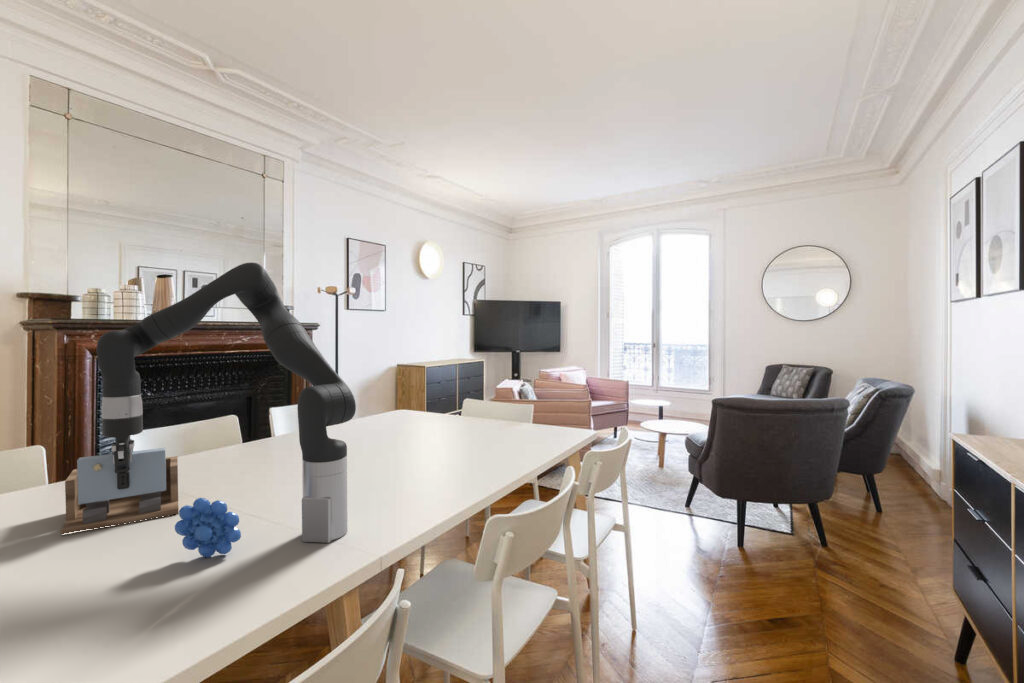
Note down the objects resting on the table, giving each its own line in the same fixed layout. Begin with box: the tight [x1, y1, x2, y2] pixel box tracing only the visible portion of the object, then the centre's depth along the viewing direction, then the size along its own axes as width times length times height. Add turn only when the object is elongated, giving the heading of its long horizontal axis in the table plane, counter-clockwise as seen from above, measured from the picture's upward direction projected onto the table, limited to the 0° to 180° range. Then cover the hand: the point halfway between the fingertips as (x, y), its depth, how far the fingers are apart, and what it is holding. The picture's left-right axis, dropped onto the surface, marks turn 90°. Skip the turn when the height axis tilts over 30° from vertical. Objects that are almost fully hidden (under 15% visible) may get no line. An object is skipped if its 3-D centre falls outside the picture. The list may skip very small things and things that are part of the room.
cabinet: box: [60, 456, 179, 535], centre depth 116 cm, size 17×21×10 cm
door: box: [76, 447, 167, 505], centre depth 112 cm, size 4×16×10 cm, turn 125°
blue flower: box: [174, 497, 242, 558], centre depth 94 cm, size 12×7×12 cm, turn 104°
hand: (124, 486), depth 113 cm, fingers closed on door, 3 cm apart
